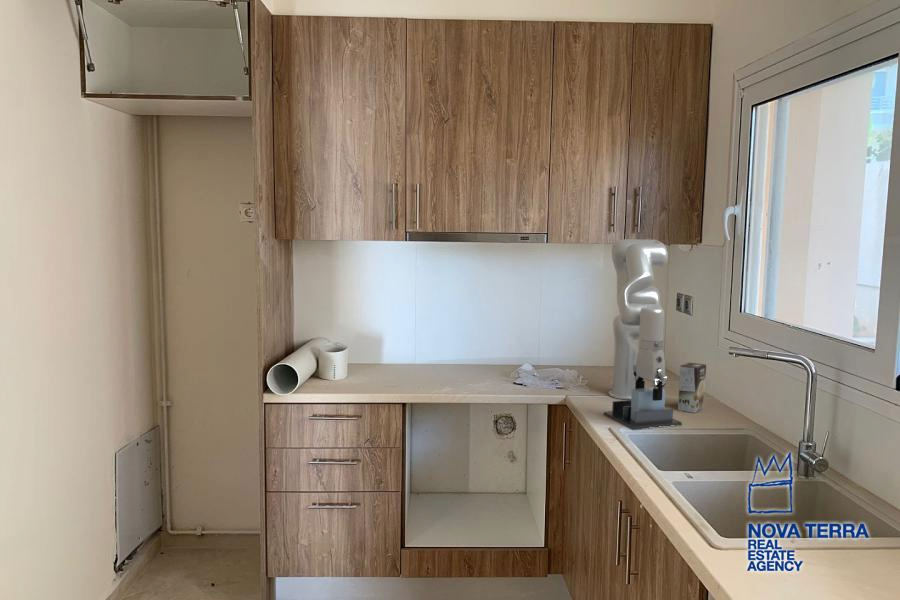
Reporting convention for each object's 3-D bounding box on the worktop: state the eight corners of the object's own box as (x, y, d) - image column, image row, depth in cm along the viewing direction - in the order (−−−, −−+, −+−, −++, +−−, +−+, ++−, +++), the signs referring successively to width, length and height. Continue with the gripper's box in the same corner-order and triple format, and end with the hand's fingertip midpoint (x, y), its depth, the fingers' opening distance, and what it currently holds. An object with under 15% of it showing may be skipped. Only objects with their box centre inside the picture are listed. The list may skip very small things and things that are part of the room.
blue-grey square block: (656, 416, 212) (658, 387, 211) (664, 420, 208) (665, 390, 207) (630, 418, 209) (631, 389, 208) (637, 422, 205) (638, 392, 204)
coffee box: (695, 413, 220) (698, 368, 218) (677, 410, 224) (679, 365, 222) (704, 408, 227) (706, 364, 225) (686, 405, 231) (688, 361, 230)
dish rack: (603, 414, 217) (604, 400, 217) (648, 410, 223) (649, 397, 222) (633, 429, 200) (634, 414, 200) (681, 425, 206) (682, 410, 205)
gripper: (677, 349, 199) (674, 402, 201) (645, 340, 215) (642, 389, 217) (656, 350, 197) (654, 404, 199) (625, 340, 213) (623, 390, 215)
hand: (648, 396), depth 208 cm, fingers open, 9 cm apart
